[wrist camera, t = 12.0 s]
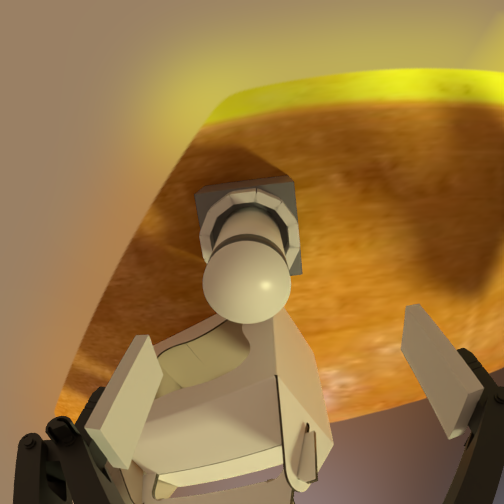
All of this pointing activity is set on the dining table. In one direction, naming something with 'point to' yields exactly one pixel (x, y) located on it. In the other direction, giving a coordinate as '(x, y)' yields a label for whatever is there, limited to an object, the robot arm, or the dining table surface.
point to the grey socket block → (251, 195)
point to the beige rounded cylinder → (247, 268)
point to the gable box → (232, 414)
